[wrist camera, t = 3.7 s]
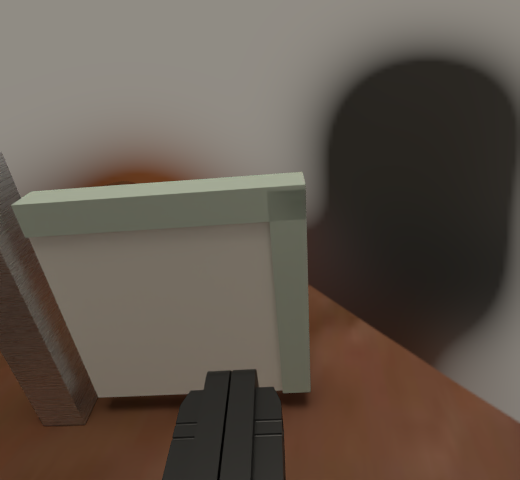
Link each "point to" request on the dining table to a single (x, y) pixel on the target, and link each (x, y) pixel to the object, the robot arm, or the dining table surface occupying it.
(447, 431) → the dining table surface
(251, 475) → the robot arm
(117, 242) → the beige and green panel
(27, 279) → the post
